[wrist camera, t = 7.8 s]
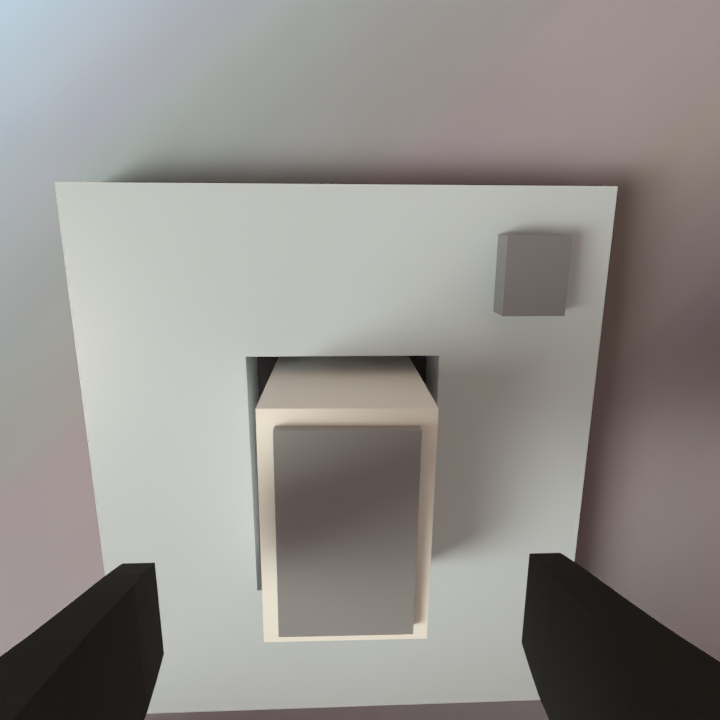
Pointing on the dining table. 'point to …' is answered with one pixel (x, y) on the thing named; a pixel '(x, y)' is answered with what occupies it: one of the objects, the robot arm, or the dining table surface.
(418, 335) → the socket plate
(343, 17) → the dining table surface
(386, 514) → the plug block
